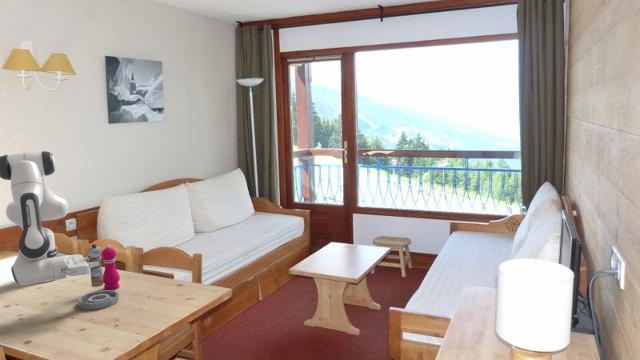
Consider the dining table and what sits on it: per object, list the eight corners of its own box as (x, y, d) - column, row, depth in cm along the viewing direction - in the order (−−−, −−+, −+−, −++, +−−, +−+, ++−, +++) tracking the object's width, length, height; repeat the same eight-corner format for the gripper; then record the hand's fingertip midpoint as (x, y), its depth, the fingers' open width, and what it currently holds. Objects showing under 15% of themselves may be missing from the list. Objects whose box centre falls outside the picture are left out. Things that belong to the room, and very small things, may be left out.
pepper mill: (114, 291, 223) (110, 246, 220) (99, 290, 224) (95, 246, 221) (123, 285, 230) (120, 242, 227) (109, 285, 231) (105, 242, 228)
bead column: (93, 283, 210) (89, 243, 208) (104, 282, 211) (100, 242, 209) (90, 287, 206) (86, 245, 203) (102, 286, 207) (98, 244, 204)
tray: (83, 298, 215) (83, 292, 215) (121, 294, 218) (121, 288, 218) (75, 311, 201) (74, 305, 200) (115, 307, 204) (115, 301, 203)
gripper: (62, 266, 191) (101, 259, 198) (56, 254, 208) (93, 248, 215) (64, 282, 192) (103, 275, 199) (58, 269, 209) (94, 263, 216)
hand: (97, 261), depth 207 cm, fingers closed on bead column, 4 cm apart
